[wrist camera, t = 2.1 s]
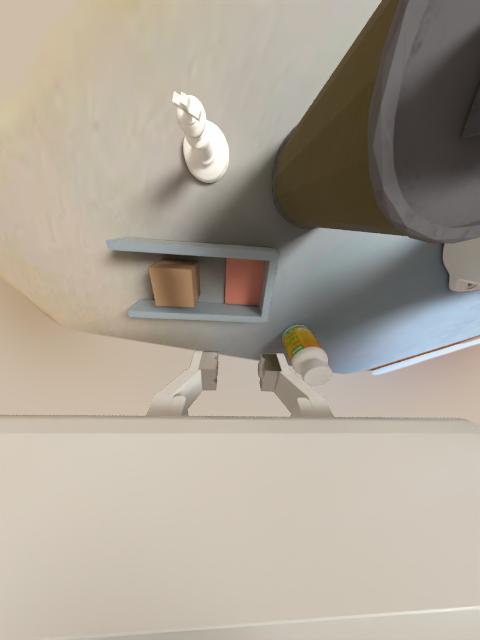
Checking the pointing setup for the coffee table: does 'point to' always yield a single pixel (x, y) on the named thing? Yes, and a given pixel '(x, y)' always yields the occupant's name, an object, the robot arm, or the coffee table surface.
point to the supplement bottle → (306, 355)
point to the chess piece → (201, 140)
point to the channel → (241, 280)
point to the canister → (393, 130)
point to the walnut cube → (175, 282)
